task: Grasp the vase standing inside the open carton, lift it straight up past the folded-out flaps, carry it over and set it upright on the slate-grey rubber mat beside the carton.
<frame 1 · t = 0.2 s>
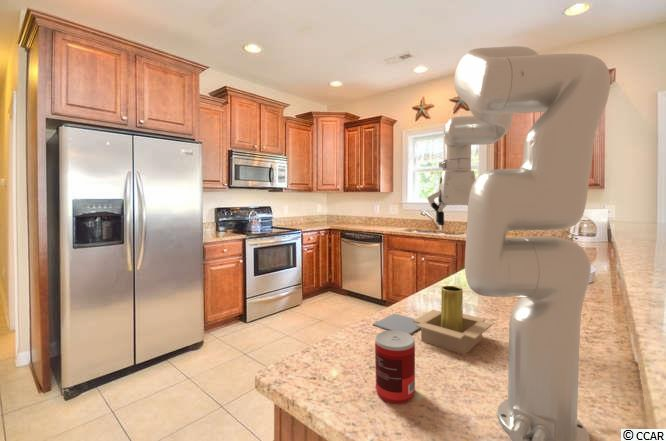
hand: (456, 224, 94), 30 cm above the countertop, tool pointing down, fingers open, 9 cm apart
mat: (400, 324, 97), on the countertop
carton: (451, 340, 86), on the countertop
canned food: (395, 393, 63), on the countertop
vase: (451, 341, 86), resting in carton
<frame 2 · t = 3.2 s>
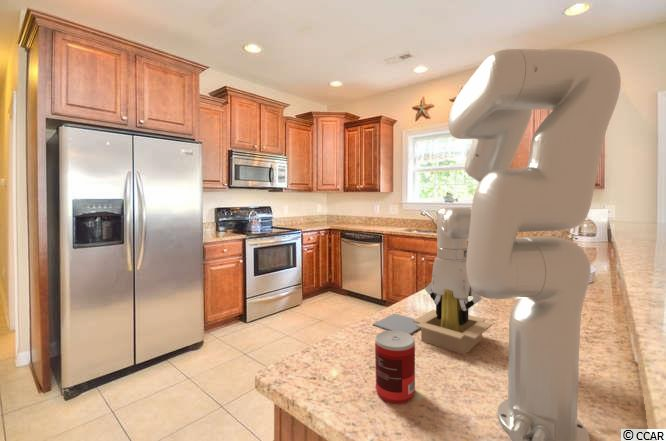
hand: (451, 320, 85), 6 cm above the countertop, tool pointing down, fingers closed on vase, 5 cm apart
vase: (451, 341, 86), resting in carton, touching gripper
everything else where it was.
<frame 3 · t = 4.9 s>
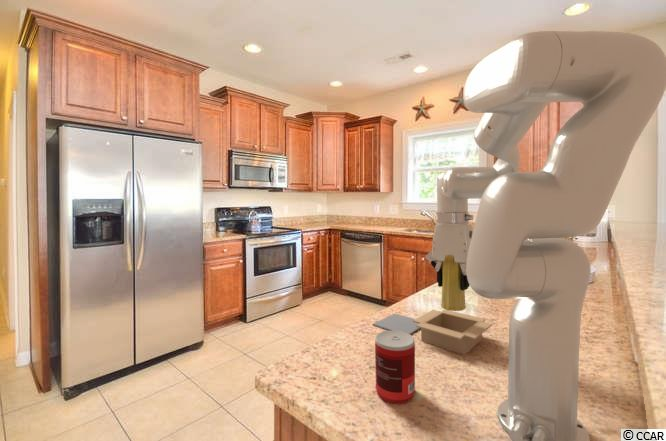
hand: (452, 286, 84), 15 cm above the countertop, tool pointing down, fingers closed on vase, 5 cm apart
vase: (453, 308, 84), point 9 cm above the countertop, touching gripper
everything else where it was.
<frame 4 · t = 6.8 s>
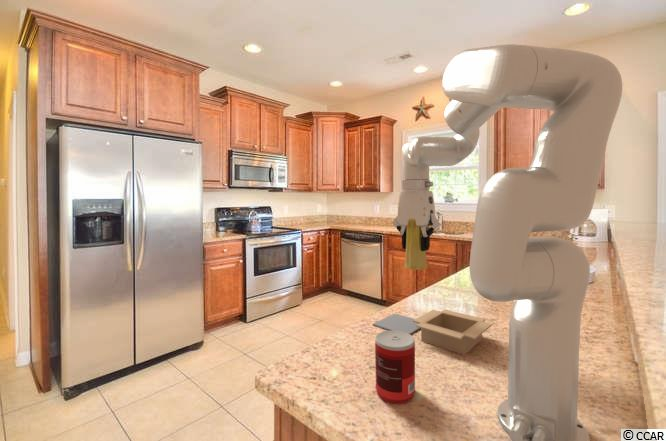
hand: (415, 248, 92), 24 cm above the countertop, tool pointing down, fingers closed on vase, 5 cm apart
vase: (415, 268, 92), point 18 cm above the countertop, touching gripper
everything else where it was.
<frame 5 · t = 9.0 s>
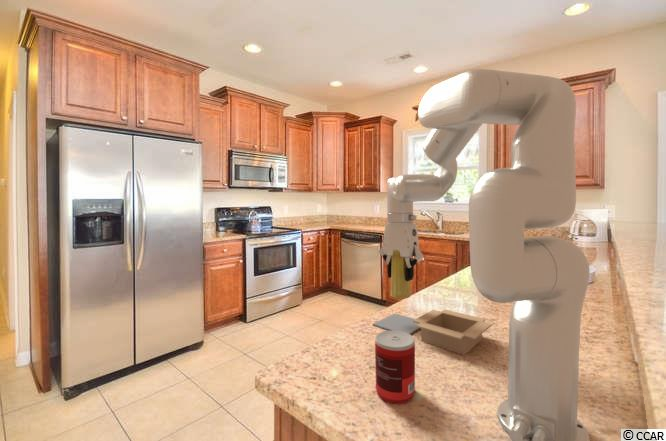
hand: (400, 277, 96), 15 cm above the countertop, tool pointing down, fingers closed on vase, 5 cm apart
vase: (400, 296, 96), point 9 cm above the countertop, touching gripper
everything else where it was.
when the fingers open (8 cm above the countertop, at t = 10.7 s): vase drops 2 cm, resting on mat.
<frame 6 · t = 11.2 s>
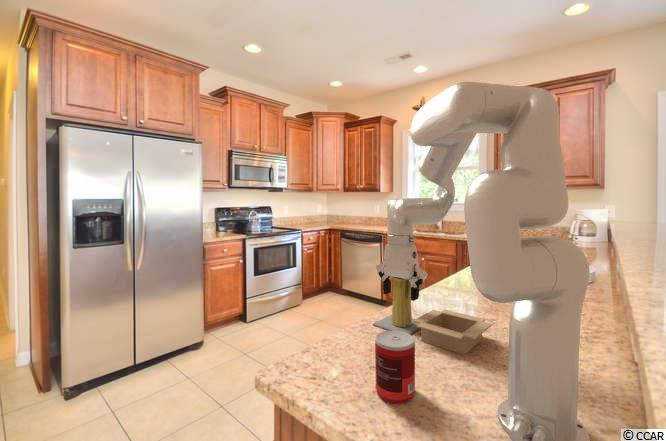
hand: (400, 296, 96), 9 cm above the countertop, tool pointing down, fingers open, 9 cm apart
vase: (401, 324, 96), resting on mat
everything else where it was.
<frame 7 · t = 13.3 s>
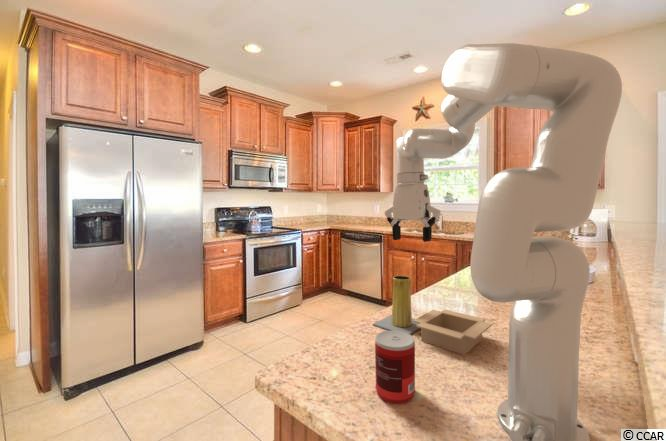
hand: (411, 240, 91), 26 cm above the countertop, tool pointing down, fingers open, 9 cm apart
nothing on the countertop moved.
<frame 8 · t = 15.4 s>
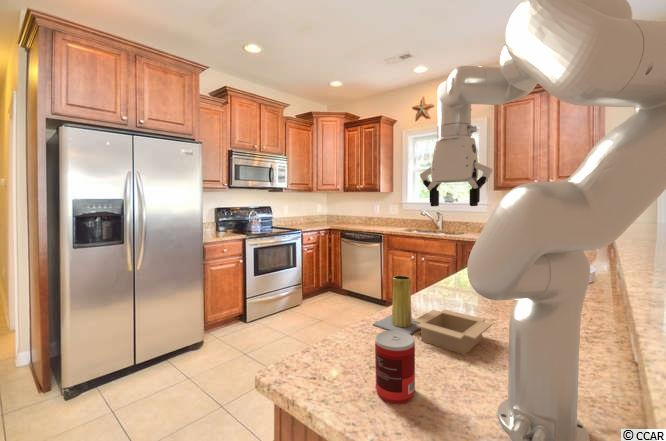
hand: (453, 206, 77), 36 cm above the countertop, tool pointing down, fingers open, 9 cm apart
nothing on the countertop moved.
at the end: vase inside the target area on the mat (0.5 cm from its centre), point 0.3 cm above the mat's base; vase tilted 0°; the gripper is holding nothing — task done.
